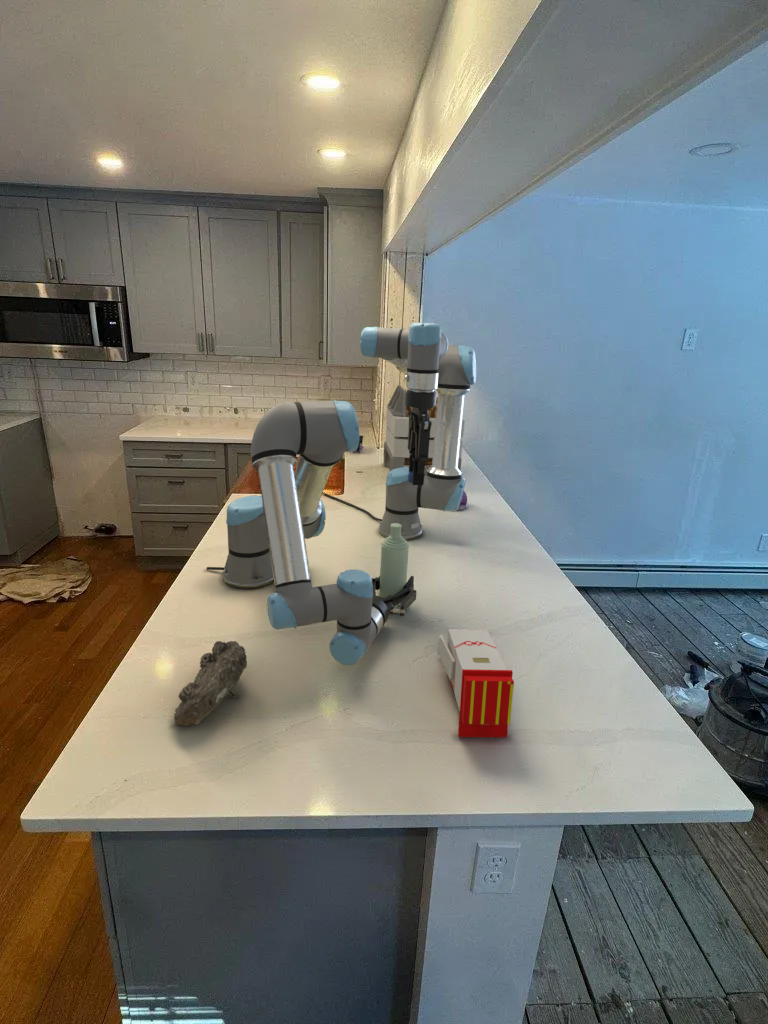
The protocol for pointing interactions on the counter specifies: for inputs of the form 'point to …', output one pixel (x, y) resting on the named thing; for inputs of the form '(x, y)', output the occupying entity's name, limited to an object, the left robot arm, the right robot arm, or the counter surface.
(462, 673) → the toy
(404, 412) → the white slatted crate
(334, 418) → the left robot arm
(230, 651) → the fossil
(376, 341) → the right robot arm
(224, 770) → the counter surface
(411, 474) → the cap
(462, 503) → the figurine
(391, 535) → the bottle
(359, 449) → the figurine character
